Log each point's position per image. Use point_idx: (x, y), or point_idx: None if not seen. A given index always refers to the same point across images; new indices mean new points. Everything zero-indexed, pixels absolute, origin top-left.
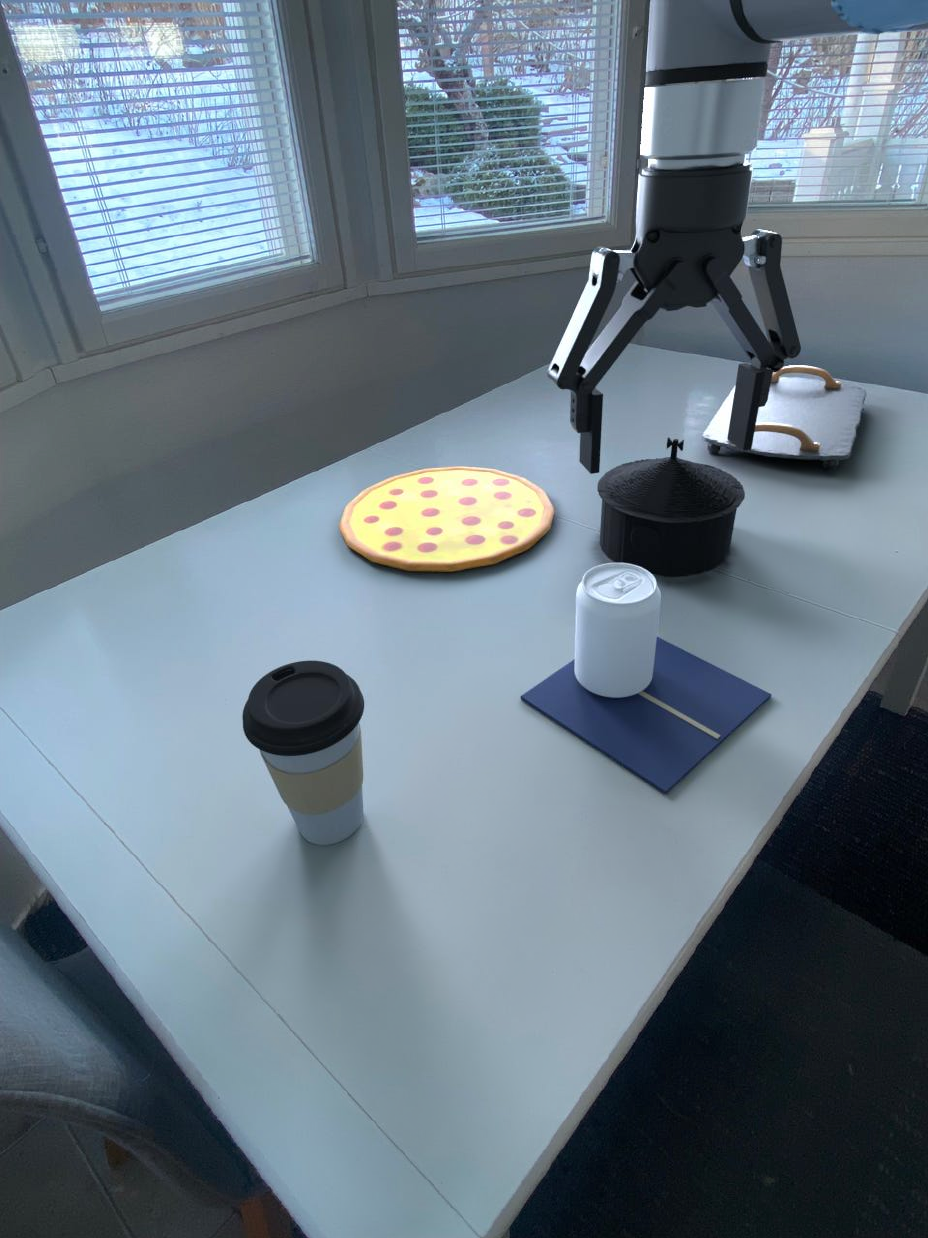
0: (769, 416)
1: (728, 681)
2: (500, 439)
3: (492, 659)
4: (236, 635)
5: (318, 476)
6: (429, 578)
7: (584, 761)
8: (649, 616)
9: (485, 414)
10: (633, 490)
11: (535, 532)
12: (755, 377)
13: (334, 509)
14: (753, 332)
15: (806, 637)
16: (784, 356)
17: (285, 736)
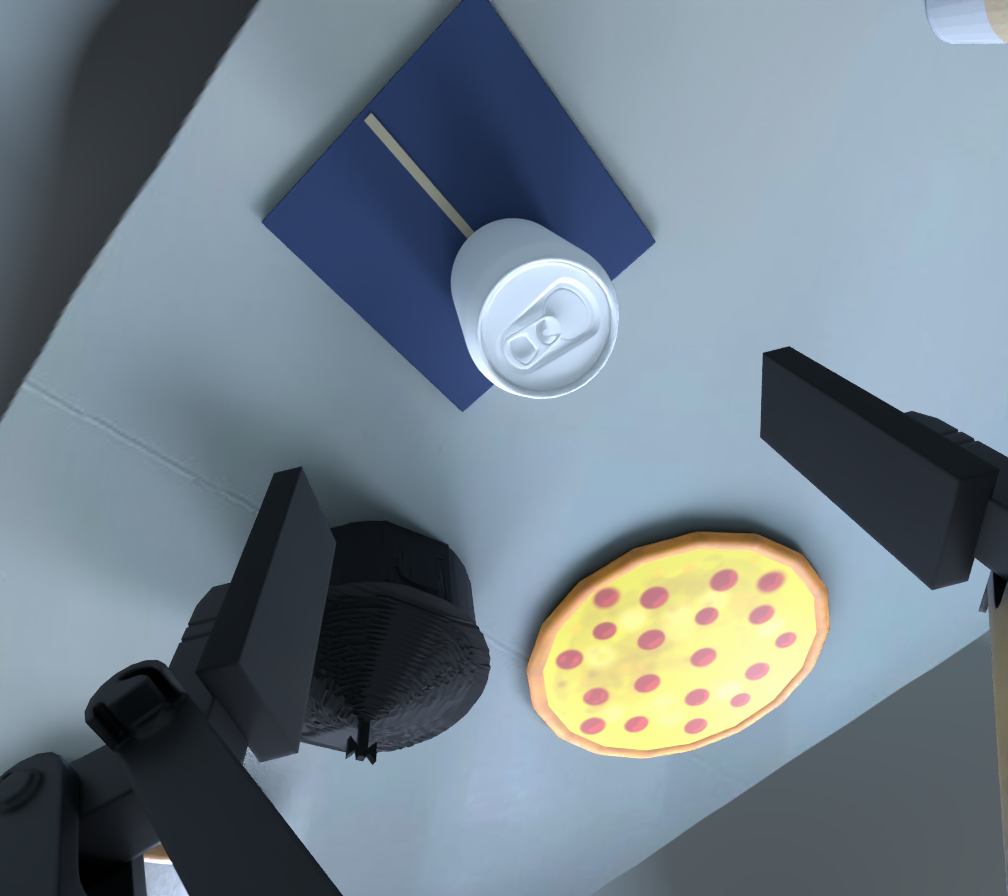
0: (160, 888)
1: (328, 259)
2: (571, 822)
3: (675, 335)
4: (1001, 401)
5: (827, 733)
6: (727, 520)
7: (587, 83)
8: (495, 257)
9: (581, 873)
10: (437, 657)
11: (566, 613)
12: (244, 644)
13: (821, 666)
14: (235, 857)
15: (179, 370)
16: (80, 768)
17: None
